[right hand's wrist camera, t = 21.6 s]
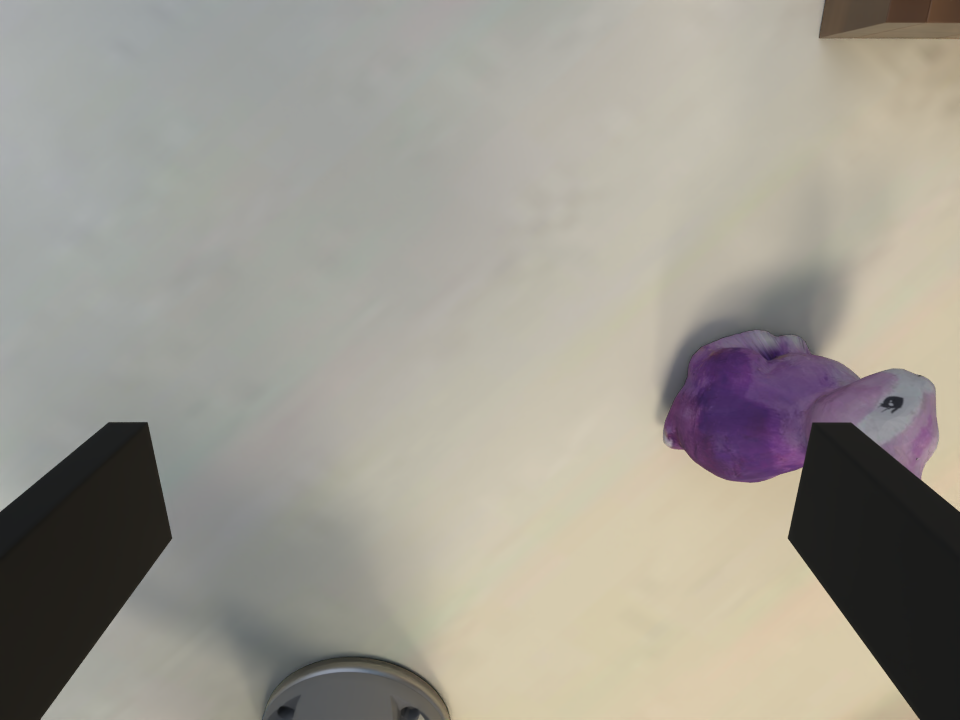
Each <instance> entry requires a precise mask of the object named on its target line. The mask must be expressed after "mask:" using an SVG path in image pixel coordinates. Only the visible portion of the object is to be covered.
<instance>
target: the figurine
mask: <svg viewBox="0 0 960 720" xmlns="http://www.w3.org/2000/svg"><path fill="white" fill-rule="evenodd" d="M812 422H851V423H853V424H854V425H855V426H856V427H857V428H859V429H860V430H861V431H862V432H863V433H865V434H866V435H867V436H868V437H870V438H871V439H872V440H873V441H874V442H876V443H877V444H878V445H879V446H880V447H882V448H883V449H884V450H885V451H886V452H888V453H889V454H890V455H891V456H893V457H894V458H895V459H896V460H897V461H899V462H900V463H901V464H902V465H903V466H905V467H906V468H907V469H908V470H909V471H911V472H912V473H913V474H914V475H916V476H917V477H918V478H919V479H920V480H921V475H922V471H923V468H924V466H925V464H926V462H927V461H928V460H929V458H930V457H931V456H932V454H933V453H934V451H935V450H936V448H937V445H938V441H939V431H938V424H937V417H936V391H935V386H934V384H933V383H932V382H931V381H930V380H929V379H927V378H925V377H924V376H921V375H916V374H914V373H911V372H909V371H907V370H904V369H889V370H884V371H881V372H878V373H875V374H872V375H869V376H866V377H864V378H862V379H860V378H859V377H858V376H857V375H856V374H855V373H854V372H853V371H851V370H850V369H849V368H847V367H846V366H845V365H843V364H841V363H839V362H837V361H835V360H832V359H829V358H825V357H822V356H817V355H812V354H811V353H810V350H809V348H808V347H807V344H806V342H805V341H804V340H803V339H802V338H801V337H799V336H796V335H791V334H790V335H782V336H779V337H778V336H774V335H772V334H771V333H769V332H768V331H761V330H753V331H746V332H742V333H741V334H735V335H732V336H728V337H725V338H721V339H719V340H717V341H714V342H712V343H710V344H707V345H705V346H703V347H701V348H700V349H699V350H698V351H697V352H696V353H695V354H694V355H693V356H692V358H691V360H690V363H689V367H688V376H687V379H686V382H685V384H684V386H683V387H682V389H681V390H680V392H679V393H678V395H677V396H676V398H675V400H674V402H673V404H672V407H671V409H670V411H669V413H668V416H667V418H666V420H665V424H664V429H663V440H664V443H665V444H666V445H667V446H668V447H670V448H672V449H682V450H685V451H686V452H687V454H688V455H689V456H690V457H691V459H693V460H694V461H695V462H696V463H697V464H699V465H700V466H702V467H703V468H704V469H706V470H708V471H709V472H711V473H713V474H714V475H716V476H718V477H721V478H723V479H726V480H730V481H738V482H749V483H752V482H760V481H764V480H768V479H770V478H773V477H775V476H777V475H779V474H783V473H787V472H790V471H794V470H797V469H799V468H802V467H803V464H804V460H805V455H806V450H807V446H808V441H809V436H810V431H811V427H812Z"/></svg>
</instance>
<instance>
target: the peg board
mask: <svg viewBox="0 0 960 720" xmlns="http://www.w3.org/2000/svg"><path fill="white" fill-rule="evenodd" d="M819 38H905V39H935V38H936V39H960V0H826V2H825V7H824V13H823V19H822V24H821V30H820V35H819Z"/></svg>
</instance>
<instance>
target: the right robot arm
mask: <svg viewBox="0 0 960 720" xmlns="http://www.w3.org/2000/svg"><path fill="white" fill-rule="evenodd" d="M171 539H172V535H171V531H170V526H169V521H168V516H167V512H166V507H165V502H164V498H163V493H162V488H161V483H160V479H159V474H158V469H157V464H156V460H155V455H154V450H153V446H152V441H151V436H150V431H149V427H148V422H109V423H107V424H106V425H105V426H104V427H103V428H101V429H100V430H99V431H98V432H97V433H95V434H94V435H93V436H92V437H90V438H89V439H88V440H87V441H86V442H84V443H83V444H82V445H81V446H80V447H78V448H77V449H76V450H75V451H74V452H72V453H71V454H70V455H69V456H67V457H66V458H65V459H64V460H63V461H61V462H60V463H59V464H58V465H57V466H55V467H54V468H53V469H52V470H51V471H49V472H48V473H47V474H46V475H44V476H43V477H42V478H41V479H40V480H38V481H37V482H36V483H35V484H34V485H32V486H31V487H30V488H29V489H28V490H26V491H25V492H24V493H23V494H21V495H20V496H19V497H18V498H17V499H15V500H14V501H13V502H12V503H11V504H9V505H8V506H7V507H6V508H5V509H3V510H2V511H1V512H0V720H40V719H41V718H42V716H43V715H44V714H45V712H46V711H47V710H48V708H49V707H50V705H51V704H52V703H53V701H54V700H55V699H56V697H57V696H58V694H59V693H60V692H61V690H62V689H63V688H64V686H65V685H66V683H67V682H68V681H69V679H70V678H71V677H72V675H73V674H74V672H75V671H76V670H77V668H78V667H79V666H80V664H81V663H82V661H83V660H84V659H85V657H86V656H87V655H88V653H89V652H90V650H91V649H92V648H93V646H94V645H95V644H96V642H97V641H98V640H99V638H100V637H101V635H102V634H103V633H104V631H105V630H106V629H107V627H108V626H109V624H110V623H111V622H112V620H113V619H114V618H115V616H116V615H117V613H118V612H119V611H120V609H121V608H122V607H123V605H124V604H125V602H126V601H127V600H128V598H129V597H130V596H131V594H132V593H133V591H134V590H135V589H136V587H137V586H138V585H139V583H140V582H141V580H142V579H143V578H144V576H145V575H146V574H147V572H148V571H149V569H150V568H151V567H152V565H153V564H154V563H155V561H156V560H157V559H158V557H159V556H160V554H161V553H162V552H163V550H164V549H165V548H166V546H167V545H168V543H169V542H170V541H171ZM788 539H789V541H790V542H791V543H792V545H793V546H794V548H795V549H796V550H797V552H798V553H799V554H800V556H801V557H802V559H803V560H804V561H805V563H806V564H807V565H808V567H809V568H810V569H811V571H812V572H813V574H814V575H815V576H816V578H817V579H818V580H819V582H820V583H821V585H822V586H823V587H824V589H825V590H826V591H827V593H828V594H829V596H830V597H831V598H832V600H833V601H834V602H835V604H836V605H837V607H838V608H839V609H840V611H841V612H842V613H843V615H844V616H845V618H846V619H847V620H848V622H849V623H850V624H851V626H852V627H853V629H854V630H855V631H856V633H857V634H858V635H859V637H860V638H861V640H862V641H863V642H864V644H865V645H866V646H867V648H868V649H869V650H870V652H871V653H872V655H873V656H874V657H875V659H876V660H877V661H878V663H879V664H880V666H881V667H882V668H883V670H884V671H885V672H886V674H887V675H888V677H889V678H890V679H891V681H892V682H893V683H894V685H895V686H896V688H897V689H898V690H899V692H900V693H901V694H902V696H903V697H904V699H905V700H906V701H907V703H908V704H909V705H910V707H911V708H912V710H913V711H914V712H915V714H916V715H917V716H918V718H919V719H920V720H960V512H959V511H958V510H957V509H955V508H954V507H953V506H952V505H951V504H949V503H948V502H947V501H946V500H945V499H943V498H942V497H941V496H940V495H938V494H937V493H936V492H935V491H934V490H932V489H931V488H930V487H929V486H928V485H926V484H925V483H924V482H923V481H922V480H920V479H919V478H918V477H917V476H916V475H914V474H913V473H912V472H911V471H909V470H908V469H907V468H906V467H905V466H903V465H902V464H901V463H900V462H899V461H897V460H896V459H895V458H894V457H893V456H891V455H890V454H889V453H888V452H886V451H885V450H884V449H883V448H882V447H880V446H879V445H878V444H877V443H876V442H874V441H873V440H872V439H871V438H870V437H868V436H867V435H866V434H865V433H863V432H862V431H861V430H860V429H859V428H857V427H856V426H855V425H854V424H853V423H851V422H812V427H811V431H810V436H809V441H808V446H807V450H806V455H805V460H804V464H803V469H802V474H801V479H800V483H799V488H798V493H797V497H796V502H795V507H794V512H793V516H792V521H791V526H790V531H789V535H788ZM262 720H450V717H449V714H448V711H447V708H446V706H445V704H444V702H443V701H442V699H441V698H440V696H439V695H438V694H437V693H436V691H435V690H434V689H433V688H432V687H431V686H430V685H429V684H428V683H426V682H425V681H424V680H422V679H421V678H420V677H418V676H417V675H415V674H413V673H412V672H410V671H408V670H406V669H404V668H401V667H399V666H397V665H394V664H391V663H388V662H384V661H380V660H375V659H369V658H358V657H345V658H334V659H328V660H323V661H320V662H316V663H313V664H310V665H308V666H305V667H303V668H301V669H299V670H297V671H296V672H294V673H292V674H291V675H290V676H288V677H287V678H286V679H284V680H283V681H282V682H281V683H280V684H279V685H278V687H277V688H276V689H275V690H274V692H273V693H272V695H271V697H270V699H269V701H268V703H267V706H266V709H265V712H264V715H263V717H262Z"/></svg>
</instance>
